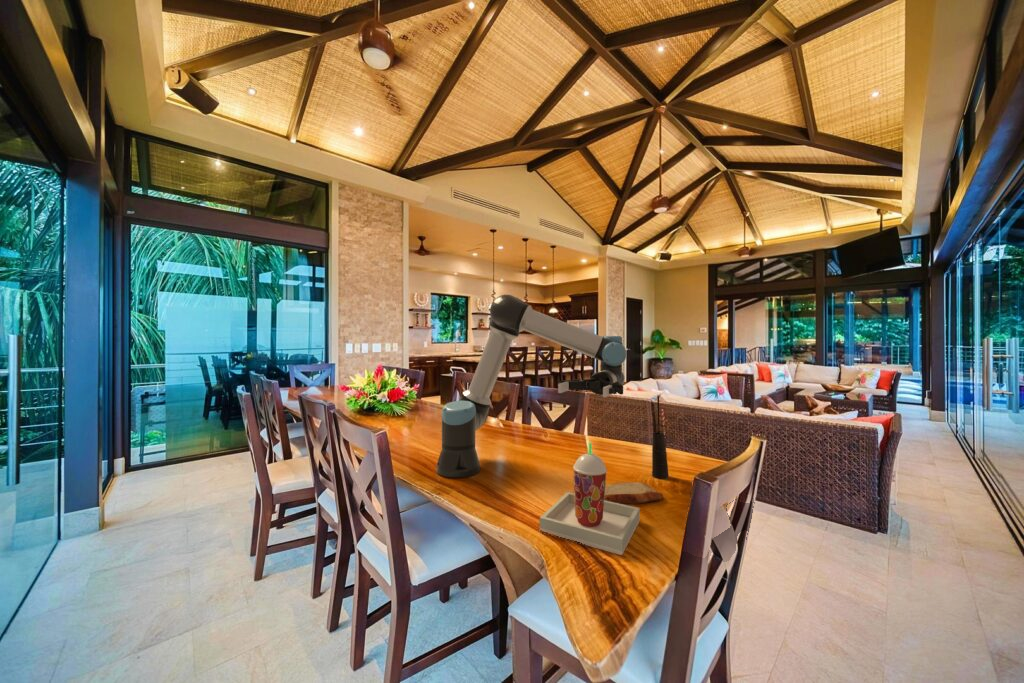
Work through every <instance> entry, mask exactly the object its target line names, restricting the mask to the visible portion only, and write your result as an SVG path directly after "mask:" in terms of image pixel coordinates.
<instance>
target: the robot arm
mask: <svg viewBox="0 0 1024 683" xmlns="http://www.w3.org/2000/svg"><path fill="white" fill-rule="evenodd" d="M489 315H490V322H489V326H488V327H489V328H490V334H489V336H488V338H487V341H486V344H485V346H484V349H483V352H482V354H481V357H480V360H478V361H479V362H478V364H477V366H476V369H475V371H474V374H473V377H472V380H471V382H470V384H469V387H468V389H466V390H464V391H462V393H461V397H460V398H459V400H453V401H450V402H447V403H446V404H445V405H444V406H443V407H442V408H441V410H442V411H441V416H440V417H441V450H440V453H439V456H438V459H437V462H436V473H437V474H438V475H440V476H442V477H445V478H452V479H455V478H457V479H459V478H468V477H472V476H474V475H476V474H478V473H479V472H480V471H481V462H480V460H479V456H478V452H477V450H476V431H477V430H478V429H480V428H481V427H483V425H484V424H486V422H487V420H488V417H489V409H490V408H491V406H492V400H491V398H490V397H491V395H492V391H493V389H494V387H495V383H496V382H497V380H498V376H499V374H500V372H501V370H502V366H503V364H504V362H505V359H506V357H507V354H508V352H509V349H510V347H511V344H512V341H513V340H515V339H517V338H518V337H519V335H520V333H521V332H527V333H530V334H533V335H535V336H537V337H539V338H542V339H545V340H548V341H550V342H553V343H555V344H558V345H560V346H562V347H565V348H568V349H570V350H573V351H576V352H577V353H581V354H583V355H585V356H588V357H591V358H593V359H595V360H598V361H600V365H599V366H600V369H599V371H597V372H594V373H593V374H592V375H591V376H590V377H589V378H585V379H582V378H577V379H566V380H559V381H558V384H557V387H558V388H557V393H558V394H563V393H567V392H568V391H569V390H583V391H591V392H592V393H594V394H595V395H597V396H602V398H607V397H610V396H612V395H617V394H618V395H624V385H623V384H624V382H625V375H624V372H623V363H624V362H625V361H626V359H627V350H626V347H625V346H624V343H623V337H622V336H621V335H598V334H597V333H594V332H591V331H588V330H586V329H583V328H582V327H578V326H576V325H574V324H570V323H568V322H565V321H562V320H560V319H558V318H555V317H552V316H551V315H550V316H549V315H547V314H544V313H542V312H540V311H537V310H534V309H533V308H532V306H531V305H529V304H527V303H525V302H524V301H523V300H522V299H521V298H519V297H516V296H514V295H511V294H501V295H500V296H497V297H496V298H494V299H493V301H492V302H491V305H490V308H489Z"/></svg>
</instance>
